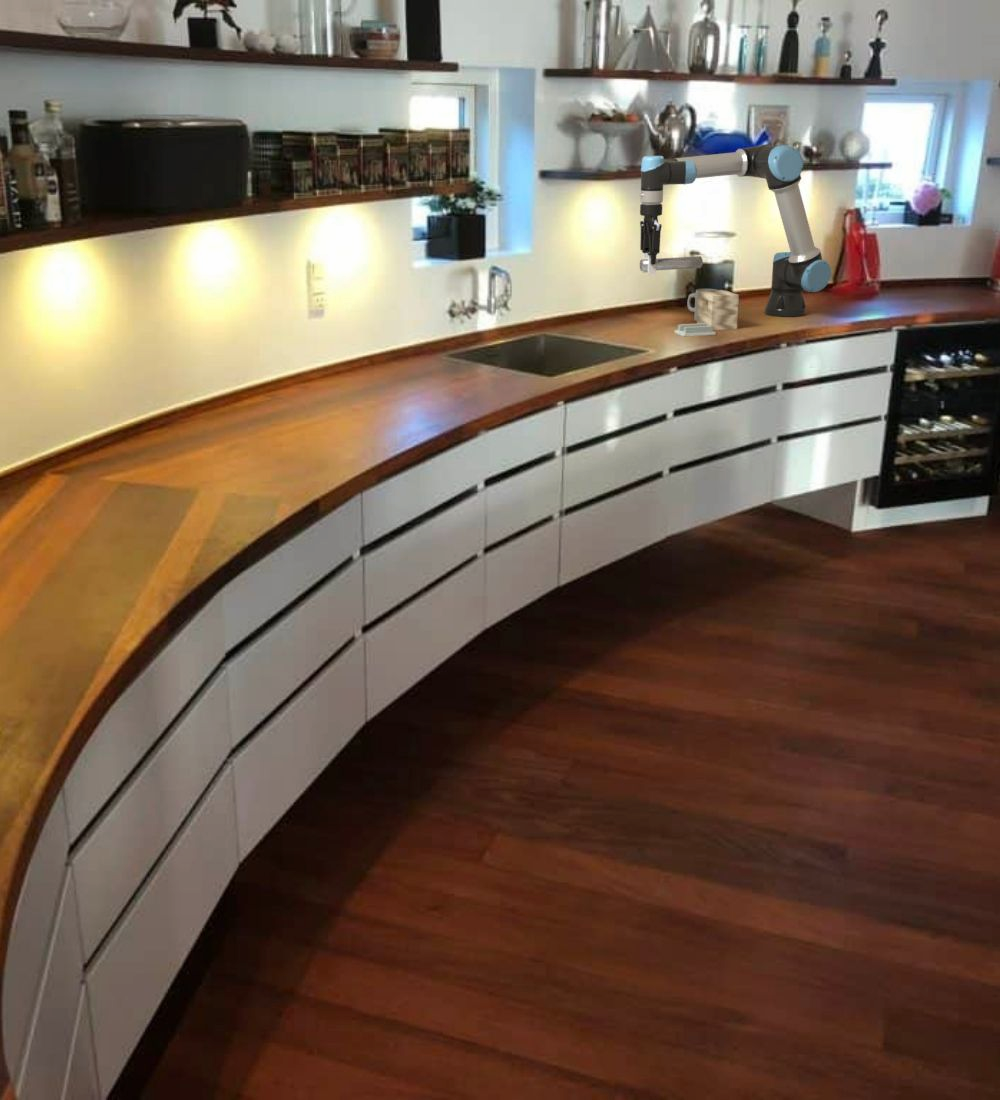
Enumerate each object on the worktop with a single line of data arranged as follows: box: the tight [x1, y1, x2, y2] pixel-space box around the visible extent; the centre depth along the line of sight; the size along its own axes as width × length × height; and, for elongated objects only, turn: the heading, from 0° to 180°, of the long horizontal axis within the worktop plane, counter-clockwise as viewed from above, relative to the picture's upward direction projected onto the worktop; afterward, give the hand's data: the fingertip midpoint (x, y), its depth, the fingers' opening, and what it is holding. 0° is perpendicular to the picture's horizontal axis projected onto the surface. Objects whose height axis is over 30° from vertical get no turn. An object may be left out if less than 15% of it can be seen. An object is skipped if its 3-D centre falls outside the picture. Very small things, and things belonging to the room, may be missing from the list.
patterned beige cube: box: [696, 289, 740, 331], centre depth 434 cm, size 10×12×12 cm
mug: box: [686, 288, 717, 322], centre depth 448 cm, size 12×8×11 cm
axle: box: [639, 255, 704, 272], centre depth 423 cm, size 22×4×4 cm, turn 106°
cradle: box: [673, 322, 717, 337], centre depth 423 cm, size 12×8×3 cm, turn 106°
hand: (649, 272), depth 422 cm, fingers closed on axle, 4 cm apart
